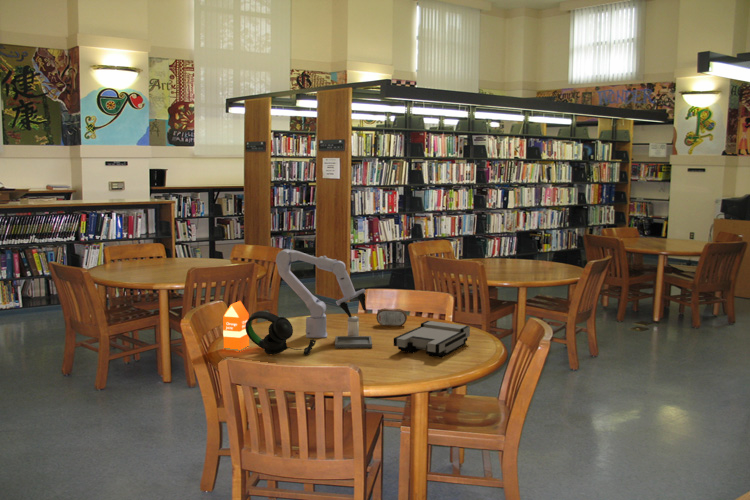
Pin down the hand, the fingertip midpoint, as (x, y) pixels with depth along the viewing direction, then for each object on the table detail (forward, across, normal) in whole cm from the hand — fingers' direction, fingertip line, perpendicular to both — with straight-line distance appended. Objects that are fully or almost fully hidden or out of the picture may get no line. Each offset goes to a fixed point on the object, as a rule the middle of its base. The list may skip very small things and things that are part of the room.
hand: (357, 313), depth 305 cm
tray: (+10, -10, -10) cm, 17 cm away
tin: (+16, +19, +17) cm, 30 cm away
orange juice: (-9, -56, 0) cm, 57 cm away
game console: (+23, +16, -28) cm, 40 cm away
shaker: (+9, -6, +2) cm, 11 cm away
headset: (-1, -42, -13) cm, 44 cm away
